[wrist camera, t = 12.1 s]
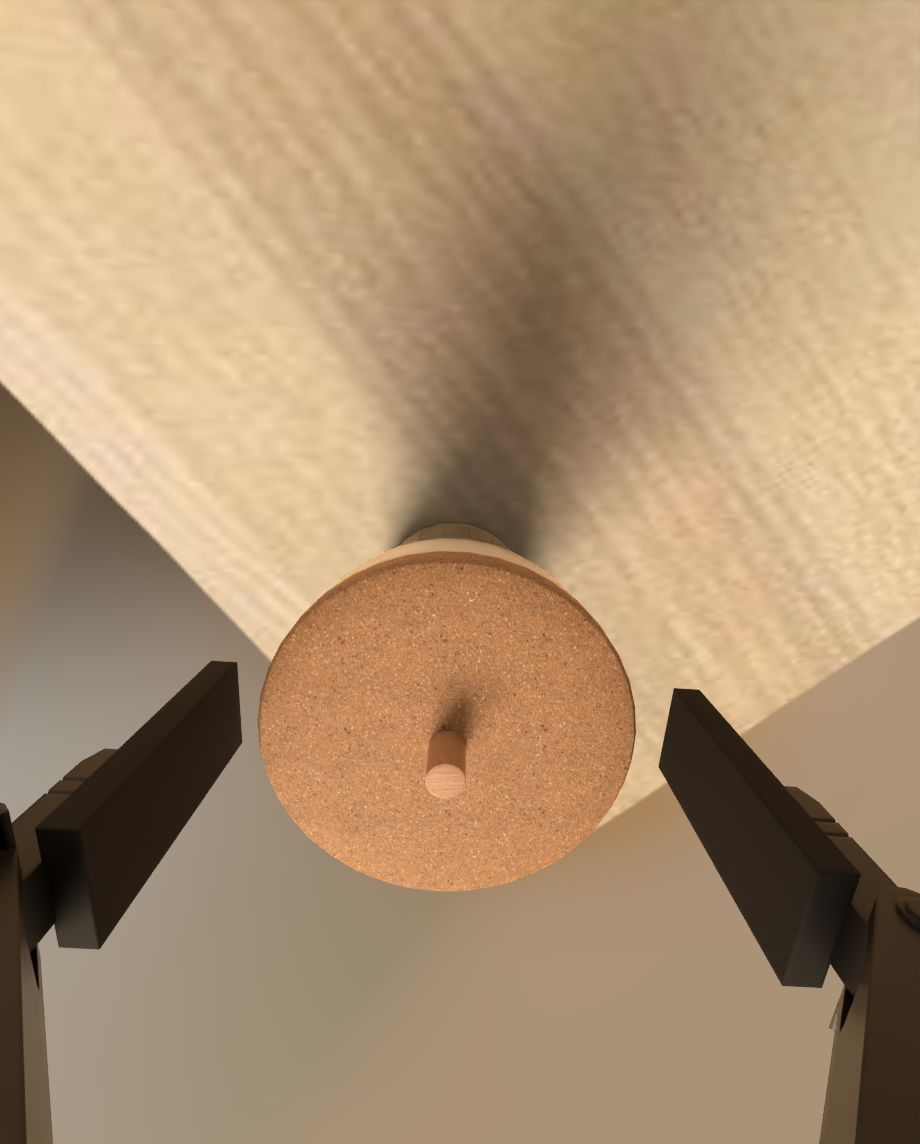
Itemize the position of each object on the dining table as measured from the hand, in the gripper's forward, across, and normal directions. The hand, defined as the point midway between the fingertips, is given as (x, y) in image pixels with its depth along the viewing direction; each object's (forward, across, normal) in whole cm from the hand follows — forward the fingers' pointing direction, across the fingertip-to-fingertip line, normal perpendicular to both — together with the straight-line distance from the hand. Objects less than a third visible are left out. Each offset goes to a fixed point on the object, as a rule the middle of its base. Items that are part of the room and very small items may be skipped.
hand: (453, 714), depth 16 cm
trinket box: (+7, 0, 0) cm, 7 cm away
